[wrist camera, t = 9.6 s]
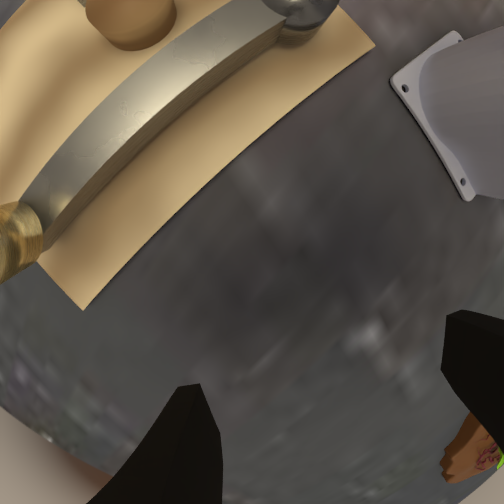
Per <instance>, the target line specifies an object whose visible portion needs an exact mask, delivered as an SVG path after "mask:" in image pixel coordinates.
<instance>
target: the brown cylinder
mask: <svg viewBox="0 0 504 504" xmlns="http://www.w3.org/2000/svg"><path fill="white" fill-rule="evenodd" d="M85 12H86V16H87V19H88V21H89V22H90V23H91V24H92V25H93V26H94V27H95V28H96V29H97V30H98V31H99V32H100V33H101V34H102V35H103V36H104V37H105V38H106V39H107V40H108V41H109V42H110V43H111V44H112V45H113V46H114V47H116V48H118V49H121V50H124V51H139V50H143V49H146V48H149V47H151V46H153V45H155V44H157V43H158V42H160V41H161V40H162V39H164V38H165V37H166V36H167V35H168V33H169V32H170V31H171V29H172V28H173V26H174V24H175V21H176V17H177V11H176V6H175V3H174V0H87V1H86V6H85Z"/></svg>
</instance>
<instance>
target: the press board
mask: <svg viewBox="0 0 504 504" xmlns="http://www.w3.org/2000/svg"><path fill="white" fill-rule="evenodd" d="M230 1H231V0H174V3H175V6H176V11H177V17H176V21H175V24H174V26H173V28H172V29H171V31H170V32H169V33H168V35H167V36H166V37H165V38H164V39H162V40H161V41H160V42H158V43H157V44H155V45H153V46H151V47H149V48H146V49H143V50H139V51H124V50H121V49H118V48H116V47H114V46H113V45H112V44H111V43H110V42H109V41H108V40H107V39H106V38H105V37H104V36H103V35H102V34H101V33H100V32H99V31H98V30H97V29H96V28H95V27H94V26H93V25H92V24H91V23H90V22H89V21H88V19H87V16H86V12H85V8H84V7H83V6H82V5H81V4H80V3H79V2H78V1H77V0H26V1H25V2H24V3H23V4H22V5H21V6H20V8H19V9H18V10H17V11H16V12H15V13H14V14H13V15H12V16H11V18H10V19H9V20H8V21H7V22H6V23H5V25H4V26H3V27H2V28H1V29H0V205H2V204H6V203H10V202H15V201H19V199H20V198H21V196H22V195H23V193H24V192H25V191H26V189H27V188H28V187H29V185H30V184H31V182H32V181H33V180H34V178H35V177H36V176H37V175H38V173H39V172H40V171H41V169H42V168H43V167H44V166H45V164H46V163H47V162H48V161H49V159H50V158H51V157H52V156H53V154H54V153H55V152H56V151H57V150H58V148H59V147H60V146H61V145H62V144H63V143H64V141H65V140H66V139H67V138H68V137H69V136H70V135H71V134H72V132H73V131H74V130H75V129H76V128H77V127H78V126H79V125H80V124H81V123H82V122H83V120H84V119H85V118H86V117H87V116H88V115H89V114H90V113H91V112H92V111H93V110H94V109H95V108H96V107H97V106H98V105H99V104H100V103H101V102H102V101H103V100H104V99H105V98H106V97H107V96H108V95H109V94H110V93H111V92H112V91H113V90H114V89H116V88H117V87H118V86H119V85H120V84H121V83H122V82H123V81H124V80H125V79H126V78H128V77H129V76H130V75H131V74H132V73H133V72H134V71H135V70H137V69H138V68H139V67H140V66H141V65H142V64H144V63H145V62H146V61H147V60H148V59H150V58H151V57H152V56H153V55H155V54H156V53H157V52H158V51H160V50H161V49H162V48H163V47H165V46H166V45H167V44H169V43H170V42H171V41H172V40H174V39H175V38H176V37H178V36H179V35H181V34H182V33H183V32H185V31H186V30H187V29H189V28H190V27H192V26H193V25H194V24H196V23H197V22H199V21H200V20H202V19H203V18H205V17H206V16H208V15H209V14H211V13H212V12H214V11H215V10H217V9H219V8H220V7H222V6H223V5H225V4H227V3H228V2H230ZM375 46H376V45H375V44H374V43H373V42H372V41H371V40H370V38H369V37H368V36H367V35H366V34H365V33H364V32H363V31H362V30H361V28H360V27H359V26H358V25H357V24H356V23H355V22H354V21H353V20H352V19H351V18H350V17H349V16H348V15H347V14H346V13H345V12H344V11H343V10H342V9H341V8H340V7H339V6H338V5H337V7H336V9H335V10H334V11H333V12H332V14H331V15H330V16H329V18H328V19H327V20H326V22H325V23H324V24H323V26H322V27H321V28H320V29H319V31H318V32H317V33H316V35H315V36H314V37H313V38H311V39H310V40H308V41H306V42H303V43H300V44H294V45H287V44H280V43H275V44H273V45H272V46H270V47H269V48H267V49H266V50H264V51H263V52H261V53H260V54H258V55H257V56H255V57H254V58H253V59H251V60H250V61H248V62H247V63H245V64H244V65H243V66H241V67H240V68H238V69H237V70H236V71H234V72H233V73H232V74H230V75H229V76H228V77H226V78H225V79H224V80H222V81H221V82H220V83H218V84H217V85H216V86H214V87H213V88H212V89H211V90H209V91H208V92H207V93H205V94H204V95H203V96H202V97H200V98H199V99H198V100H197V101H195V102H194V103H193V104H192V105H191V106H189V107H188V108H187V109H186V110H185V111H183V112H182V113H181V114H180V115H179V116H178V117H176V118H175V119H174V120H173V121H172V122H171V123H169V124H168V125H167V126H166V127H165V128H164V129H163V130H162V131H160V132H159V133H158V134H157V135H156V136H155V137H154V138H153V139H152V140H151V141H149V142H148V143H147V144H146V145H145V146H144V147H143V148H142V149H141V150H140V151H139V152H138V153H137V154H136V155H135V156H134V157H133V158H132V159H130V160H129V161H128V162H127V163H126V164H125V165H124V166H123V167H122V168H121V169H120V170H119V171H118V172H117V173H116V174H115V175H114V177H113V178H112V179H111V180H110V181H109V182H108V183H107V184H106V185H105V186H104V187H103V188H102V189H101V190H100V191H99V192H98V193H97V194H96V195H95V197H94V198H93V199H92V200H91V201H90V202H89V203H88V204H87V205H86V207H85V208H84V209H83V210H82V211H81V212H80V213H79V214H78V216H77V217H76V218H75V219H74V220H73V221H72V223H71V224H70V225H69V226H68V227H67V228H66V230H65V231H64V232H63V233H62V234H61V236H60V237H59V238H58V239H57V241H56V242H55V243H54V244H53V246H52V247H51V248H50V249H49V250H47V251H45V252H43V253H41V254H40V256H39V258H38V259H37V262H38V263H39V264H40V265H41V266H42V268H43V269H44V270H45V271H46V272H47V273H48V274H49V275H50V277H51V278H52V279H53V280H54V281H55V282H56V283H57V284H58V285H59V286H60V287H61V289H62V290H63V291H64V292H65V293H66V294H67V295H68V296H69V297H70V298H71V299H72V300H73V301H74V302H75V303H76V304H77V305H78V306H79V307H80V308H81V309H82V310H84V309H85V308H86V306H87V305H88V304H89V303H90V302H91V301H92V300H93V299H94V297H95V296H96V295H97V294H98V293H99V292H100V291H101V290H102V289H103V287H104V286H105V285H106V284H107V283H108V282H109V281H110V280H111V279H112V278H113V276H114V275H115V274H116V273H117V272H118V271H119V270H120V269H121V268H122V267H123V266H124V265H125V264H126V263H127V262H128V260H129V259H130V258H131V257H132V256H133V255H134V254H135V253H136V252H137V251H138V250H139V249H140V248H141V247H142V246H143V245H144V244H145V243H146V242H147V241H148V240H149V239H150V238H151V237H152V236H153V235H154V234H155V233H156V232H157V231H158V230H159V229H160V228H161V227H162V226H163V225H164V224H165V223H166V222H167V221H168V220H169V219H170V218H171V217H172V216H173V215H174V214H175V213H176V212H177V211H178V210H179V209H180V208H181V207H182V206H183V205H184V204H185V203H186V202H187V201H188V200H189V199H190V198H191V197H192V196H194V195H195V194H196V193H197V192H198V191H199V190H200V189H201V188H202V187H203V186H204V185H205V184H206V183H207V182H208V181H210V180H211V179H212V178H213V177H214V176H215V175H216V174H217V173H218V172H219V171H220V170H222V169H223V168H224V167H225V166H226V165H227V164H228V163H229V162H230V161H232V160H233V159H234V158H235V157H236V156H237V155H238V154H239V153H241V152H242V151H243V150H244V149H245V148H246V147H247V146H249V145H250V144H251V143H252V142H253V141H254V140H256V139H257V138H258V137H259V136H260V135H261V134H263V133H264V132H265V131H266V130H267V129H268V128H270V127H271V126H272V125H273V124H274V123H276V122H277V121H278V120H279V119H280V118H282V117H283V116H284V115H285V114H286V113H288V112H289V111H290V110H291V109H293V108H294V107H295V106H296V105H298V104H299V103H300V102H301V101H303V100H304V99H305V98H306V97H308V96H309V95H310V94H311V93H313V92H314V91H315V90H316V89H318V88H319V87H320V86H322V85H323V84H324V83H326V82H327V81H328V80H329V79H331V78H332V77H333V76H335V75H336V74H337V73H339V72H340V71H341V70H343V69H344V68H345V67H347V66H348V65H350V64H351V63H352V62H354V61H355V60H356V59H358V58H359V57H361V56H362V55H363V54H365V53H366V52H368V51H369V50H370V49H372V48H373V47H375Z"/></svg>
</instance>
